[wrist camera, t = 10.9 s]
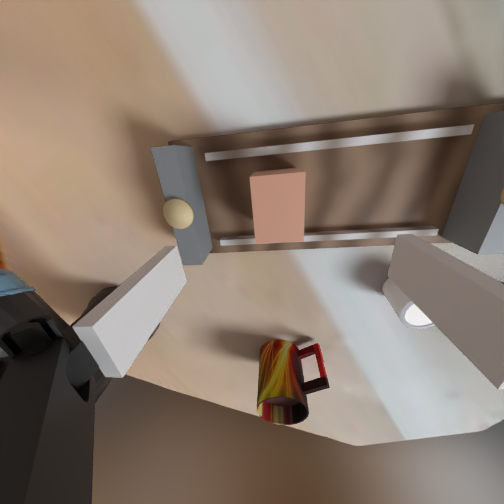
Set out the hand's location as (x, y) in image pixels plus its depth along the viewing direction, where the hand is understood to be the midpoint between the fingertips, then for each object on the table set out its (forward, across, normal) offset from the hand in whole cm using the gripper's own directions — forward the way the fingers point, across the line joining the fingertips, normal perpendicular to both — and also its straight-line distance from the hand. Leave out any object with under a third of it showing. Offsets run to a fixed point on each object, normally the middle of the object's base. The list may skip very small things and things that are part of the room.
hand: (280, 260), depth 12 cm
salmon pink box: (+20, 0, 0) cm, 20 cm away
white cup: (+21, +22, -18) cm, 36 cm away
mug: (+22, +1, -36) cm, 42 cm away
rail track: (+21, +7, 0) cm, 22 cm away
